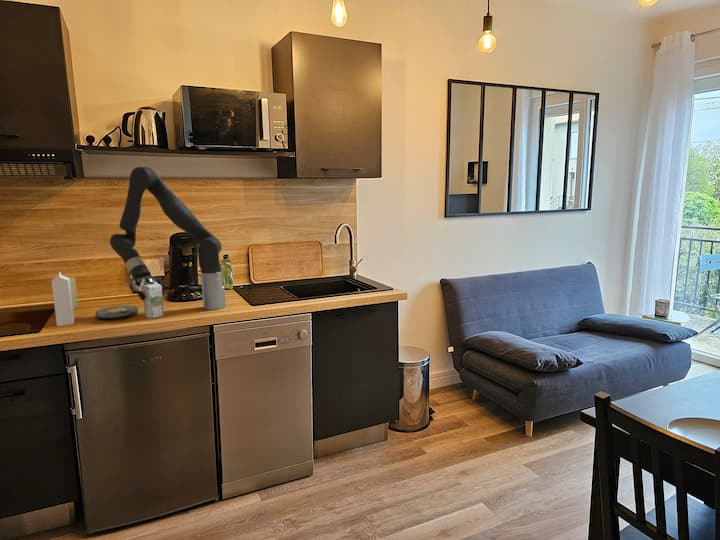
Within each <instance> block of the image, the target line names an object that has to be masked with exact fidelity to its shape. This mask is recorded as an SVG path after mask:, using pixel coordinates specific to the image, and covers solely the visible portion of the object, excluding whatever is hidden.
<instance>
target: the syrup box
mask: <svg viewBox="0 0 720 540" xmlns="http://www.w3.org/2000/svg"><path fill="white" fill-rule="evenodd" d="M142 291H143V293H144V295H145V297H146V299H145V300H144V301H143V303H144V304H143V305H144V316H145V317H146V318H148V319H151V320H153V319H158V318H162V317H164V316H165V313H164V301H163V298H164V297H162V285H160V284H157V283H154V284H148V285H143V288H142Z"/></svg>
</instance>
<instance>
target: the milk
mask: <svg viewBox="0 0 720 540" xmlns="http://www.w3.org/2000/svg"><path fill="white" fill-rule="evenodd" d="M52 279H53V281H52V280H51V287H52V288H51V289H52V294H53V295H52V296H53V305H54V313H55V314H54V315H55V321H56V327H63V326H70V325H71V326H72V325H74V324H75V315H74V309H73V305H72V296H71V288H70V279H69V278H68V277H67V276H65V275H63V274H62V272H61V271H59V273H58V276H57V277H55V278H52Z"/></svg>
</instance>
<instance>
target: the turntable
mask: <svg viewBox="0 0 720 540" xmlns="http://www.w3.org/2000/svg"><path fill="white" fill-rule="evenodd" d="M138 313H139V307H138V306H136V305H116V306H114V305H113V306H108V307H105V308H100V309H98V310H96V311H95V317H96V318H97V319H99V320H100V319H102V320H106V319H115V318H123V317H127V318H129V317H128V316H130V317H132V316H134V315H137V314H138ZM123 319H124V318H123ZM115 320H116V319H115Z"/></svg>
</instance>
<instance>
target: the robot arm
mask: <svg viewBox="0 0 720 540" xmlns="http://www.w3.org/2000/svg"><path fill="white" fill-rule="evenodd" d="M128 182H129V183H128V189H127V195H126V196H127V197H126V201H125V204H124V205H125V206H124V209H123V211H122V214H121V218H120V222H119V224H118V227H119V228H120V229H121V230H123V231H124V232H125V233H114V234H112V235H111V236H110V239H109V244H110V246H111V249H112V250H113V251H114V252H115V253H116V254H117V255H118V256H119V257H120V258H121V259H122V261H123V262H124V264H125V266H126V269H127V270H128V272H129V275H130V276H131V278H132V279H130V280H128V281H129V282H128V287H129V289H130V291H131V294H132V295H138V297H139V298H140V300H142V302H144V300H145V299H146V297H145V295H144V293H143V285H148V284H154V283H157V284H160V285H162V298H164V296H165V294H166V293H165V291H164V290H163V289H164V288H165V286H166V284H165V283H164V281H163V280H162V278H161V276H160V275H157V276H154V277H153V276H152V274H151V272H150V270H149V268H148V266H147V264H146V263H145V261H144V260H143V259H142V257H141V255H140V253H139V251H138V250H137V249H135V248H134V247H135V245H136V242H137V237H136V235H137V226H138V223H139V220H140V217H141V208H142V205H141V204H142V198H143V196H144V193H145V191H146V190H147V191H148V192H149V193H150V194H152V196H153V197H154V198H155V200H157V202H158V204H159V205H160V208H161V210H162V211H163V213H164V214H165V216H166V217H167V218H168V219H169V220H170V221H171V222H172V223H173V224H174V225H175V226H176V227H178V229H180V230H181V231H184V232H185V233H186V234H188V235H190V236H191V237H192V239H194V241H195V242H196V243H197V244H198V245H197V256H198V258H197V259H198V266H199V268H200V275H201V278H200V279H201V290H202V291H201V293H202V306H203V310H206V311H212V310H213V311H214V310H215V311H216V310H220V309H223V308H224V307H226V294H225V293H226V291H225V287H224V286H223V275H222V266H221V264H220V263H221V262H220V255H219V254H220V253H221V252H222V243H221V241H220V239H218V237H216V236H215V235H214V234H213V233H212V232H210V231H209V230H208V229H207V228H206V227H205V226H204V225H203V224H202V223H201V222H200V221H199V219H198V218H197V217H196V216H195V215H194V214H193V212H192V211H191V210H190V209H189V208H188V207H187V205H185V203H183V201H181V200H180V199H179V198H178V197H177V196H176V194H175V193H173V192H172V191H171V190H170V188H168V186H167V185H166V184H165V183H164V181H162V179H161V178H160V176H159V175H158V174H157V172H156V170H154V169H152V168H151V167H147V166H137V167H134V168H133V169H132V170H131V172H130V175H129V181H128ZM136 286H138V289H137V287H136Z"/></svg>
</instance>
